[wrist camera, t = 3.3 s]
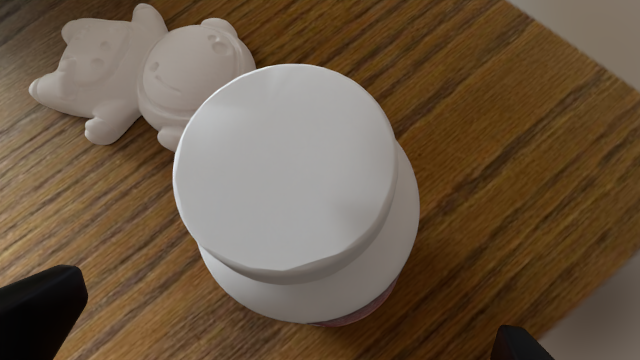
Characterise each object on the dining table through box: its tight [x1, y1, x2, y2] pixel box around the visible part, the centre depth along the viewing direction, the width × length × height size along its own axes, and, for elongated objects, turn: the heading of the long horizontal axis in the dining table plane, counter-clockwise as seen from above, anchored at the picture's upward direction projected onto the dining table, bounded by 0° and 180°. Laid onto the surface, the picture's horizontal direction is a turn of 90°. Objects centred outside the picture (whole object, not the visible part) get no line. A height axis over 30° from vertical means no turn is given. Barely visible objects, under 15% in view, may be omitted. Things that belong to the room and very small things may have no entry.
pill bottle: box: [173, 64, 420, 327], centre depth 13 cm, size 6×6×11 cm
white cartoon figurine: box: [29, 3, 256, 153], centre depth 21 cm, size 9×12×3 cm
